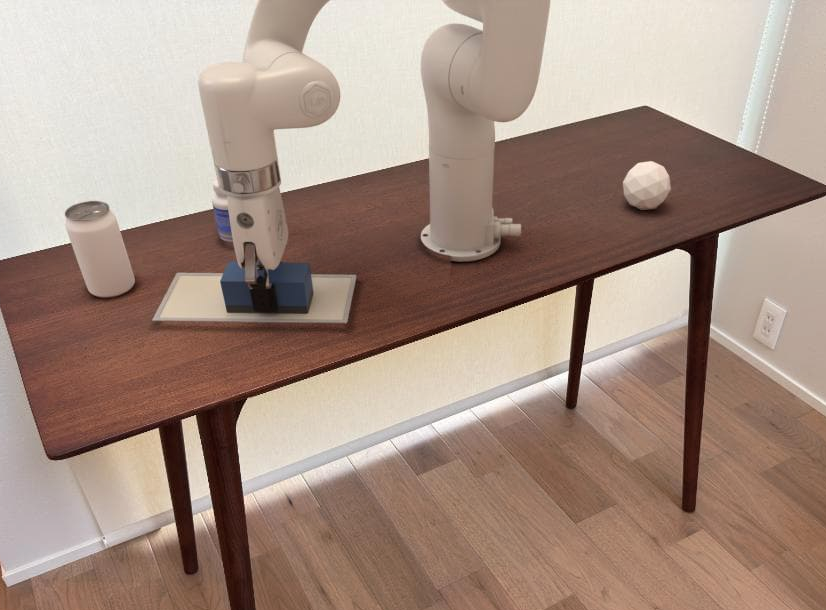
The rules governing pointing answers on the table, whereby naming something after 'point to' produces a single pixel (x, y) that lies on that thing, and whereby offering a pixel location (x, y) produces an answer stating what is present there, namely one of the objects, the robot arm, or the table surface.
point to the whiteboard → (205, 303)
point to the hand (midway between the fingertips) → (270, 297)
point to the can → (99, 249)
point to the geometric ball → (646, 185)
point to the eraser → (286, 279)
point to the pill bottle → (221, 213)
